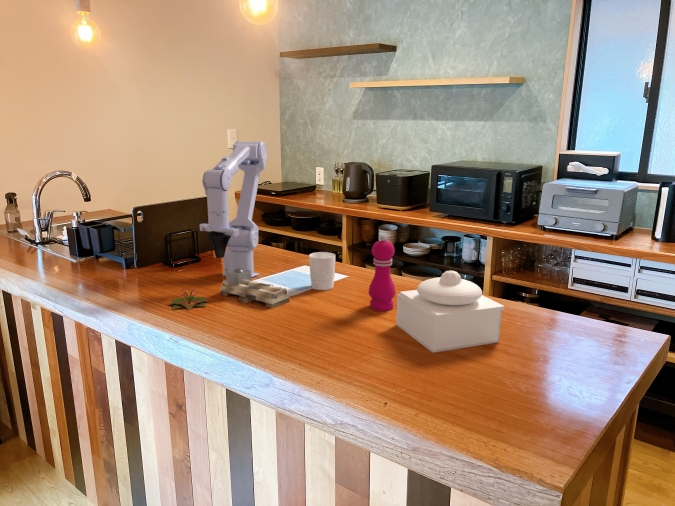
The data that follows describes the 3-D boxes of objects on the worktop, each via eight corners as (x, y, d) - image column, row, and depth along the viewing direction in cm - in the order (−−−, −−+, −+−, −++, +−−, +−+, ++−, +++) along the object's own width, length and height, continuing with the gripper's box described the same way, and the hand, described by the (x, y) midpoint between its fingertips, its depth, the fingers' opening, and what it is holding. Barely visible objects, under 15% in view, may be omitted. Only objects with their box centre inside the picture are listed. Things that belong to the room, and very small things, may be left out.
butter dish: (396, 325, 132) (398, 263, 128) (458, 317, 138) (462, 257, 135) (432, 353, 116) (436, 283, 112) (501, 342, 122) (507, 276, 119)
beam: (218, 295, 154) (217, 282, 153) (241, 287, 161) (240, 275, 160) (269, 309, 142) (269, 295, 142) (291, 300, 150) (291, 287, 149)
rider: (226, 286, 154) (226, 270, 153) (239, 282, 158) (238, 266, 157) (239, 289, 151) (238, 273, 150) (251, 285, 155) (251, 269, 154)
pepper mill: (393, 312, 141) (396, 238, 136) (366, 310, 142) (367, 237, 137) (396, 303, 148) (398, 232, 143) (370, 302, 149) (371, 231, 144)
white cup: (336, 283, 166) (336, 252, 163) (333, 291, 158) (334, 258, 156) (311, 282, 167) (311, 251, 164) (307, 290, 159) (307, 257, 157)
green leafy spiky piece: (212, 310, 143) (212, 293, 142) (165, 314, 140) (164, 297, 139) (210, 296, 154) (209, 281, 153) (167, 299, 151) (166, 284, 150)
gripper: (190, 210, 155) (193, 256, 158) (225, 216, 146) (227, 263, 150) (209, 208, 160) (211, 252, 163) (243, 212, 152) (245, 259, 155)
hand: (220, 257), depth 157 cm, fingers closed
